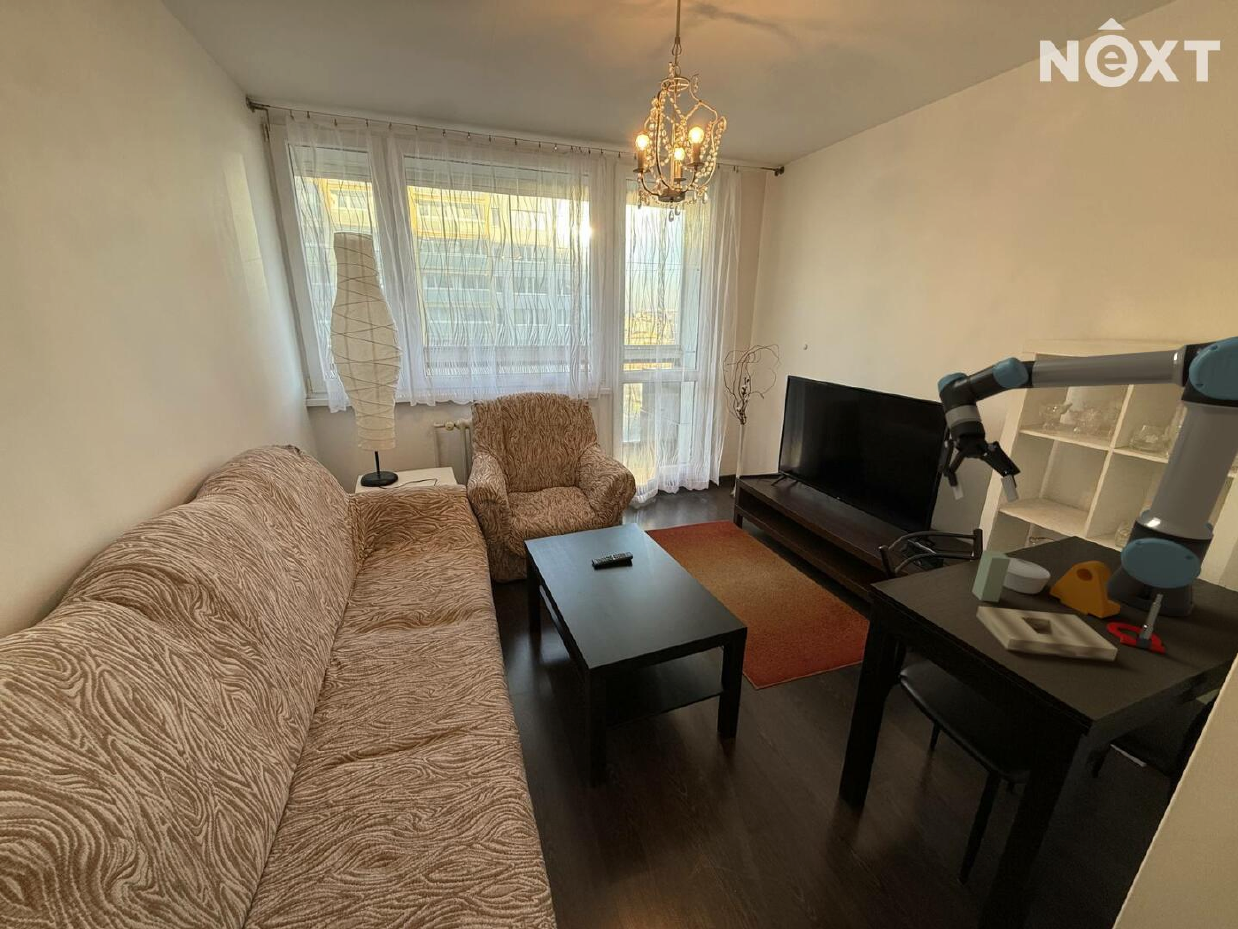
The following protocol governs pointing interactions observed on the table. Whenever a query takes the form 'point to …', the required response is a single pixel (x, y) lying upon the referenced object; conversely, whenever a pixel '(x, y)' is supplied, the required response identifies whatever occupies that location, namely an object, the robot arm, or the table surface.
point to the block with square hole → (1045, 634)
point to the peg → (991, 575)
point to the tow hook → (1141, 630)
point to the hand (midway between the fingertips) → (987, 499)
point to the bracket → (1086, 589)
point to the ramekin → (1025, 576)
